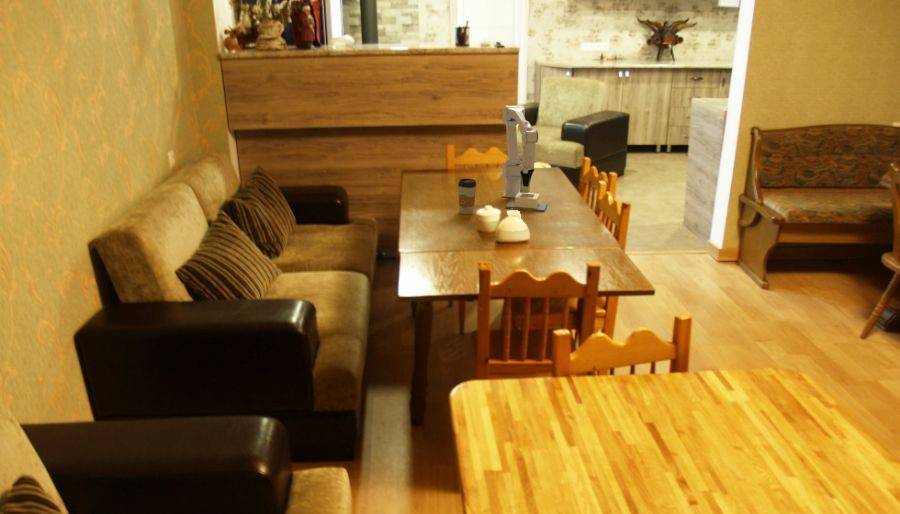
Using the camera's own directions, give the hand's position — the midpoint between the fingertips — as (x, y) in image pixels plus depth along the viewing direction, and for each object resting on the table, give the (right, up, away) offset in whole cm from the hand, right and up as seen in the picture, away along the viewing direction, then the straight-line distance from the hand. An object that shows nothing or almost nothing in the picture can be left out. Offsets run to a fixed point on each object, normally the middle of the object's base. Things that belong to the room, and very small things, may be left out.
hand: (526, 185), depth 323 cm
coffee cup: (-28, -14, -8) cm, 33 cm away
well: (0, -10, +3) cm, 10 cm away
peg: (-1, -3, +1) cm, 3 cm away
